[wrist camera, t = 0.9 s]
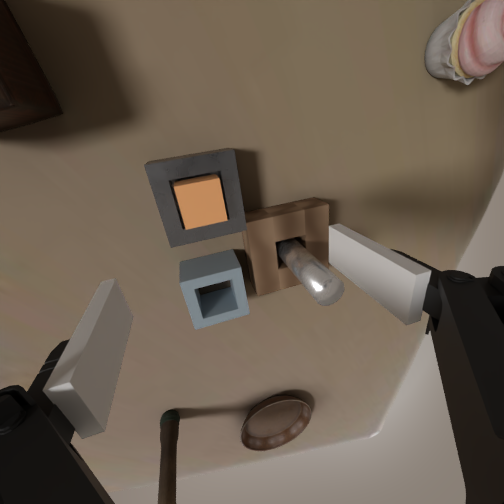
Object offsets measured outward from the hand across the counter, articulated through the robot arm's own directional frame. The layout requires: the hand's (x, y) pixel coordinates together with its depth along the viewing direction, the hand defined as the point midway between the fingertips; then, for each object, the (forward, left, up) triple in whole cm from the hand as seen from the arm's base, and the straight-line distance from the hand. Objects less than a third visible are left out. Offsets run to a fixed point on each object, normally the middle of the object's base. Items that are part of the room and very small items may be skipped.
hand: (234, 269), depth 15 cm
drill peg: (-10, +9, -21) cm, 25 cm away
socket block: (-10, +9, -21) cm, 25 cm away
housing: (+1, -1, -21) cm, 21 cm away
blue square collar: (+2, +13, -21) cm, 25 cm away
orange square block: (+1, -1, -19) cm, 19 cm away
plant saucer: (-4, +55, -22) cm, 59 cm away
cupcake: (-36, -13, -22) cm, 44 cm away
